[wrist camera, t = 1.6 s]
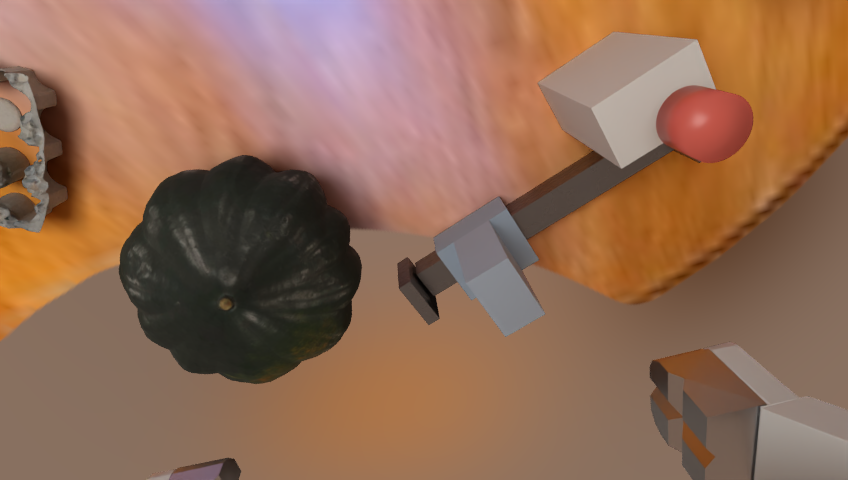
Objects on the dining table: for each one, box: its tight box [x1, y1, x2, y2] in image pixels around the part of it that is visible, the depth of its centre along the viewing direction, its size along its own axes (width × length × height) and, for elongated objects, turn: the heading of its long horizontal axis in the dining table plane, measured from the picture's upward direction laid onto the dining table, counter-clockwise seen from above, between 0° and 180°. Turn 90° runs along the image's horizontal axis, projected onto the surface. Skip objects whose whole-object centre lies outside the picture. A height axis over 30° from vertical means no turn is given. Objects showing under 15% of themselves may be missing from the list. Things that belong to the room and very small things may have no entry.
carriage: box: [434, 196, 545, 337], centre depth 35 cm, size 6×5×9 cm
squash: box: [119, 155, 362, 384], centre depth 33 cm, size 14×15×15 cm
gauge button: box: [656, 85, 753, 163], centre depth 23 cm, size 3×3×2 cm
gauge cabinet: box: [538, 32, 716, 169], centre depth 31 cm, size 6×4×10 cm
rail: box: [398, 143, 701, 325], centre depth 37 cm, size 23×4×4 cm, turn 124°
